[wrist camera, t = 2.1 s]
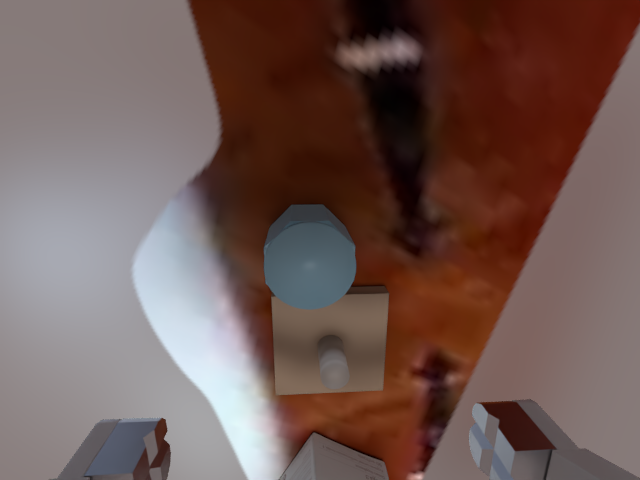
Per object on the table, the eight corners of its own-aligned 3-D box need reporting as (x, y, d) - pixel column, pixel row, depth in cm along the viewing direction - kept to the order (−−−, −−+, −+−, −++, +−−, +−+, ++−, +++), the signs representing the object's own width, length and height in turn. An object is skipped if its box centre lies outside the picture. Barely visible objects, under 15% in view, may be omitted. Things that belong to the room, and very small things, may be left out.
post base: (272, 289, 24) (267, 322, 20) (384, 285, 25) (403, 317, 21) (276, 383, 27) (272, 431, 23) (379, 379, 27) (394, 425, 23)
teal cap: (268, 204, 23) (261, 223, 18) (345, 203, 23) (357, 222, 18) (271, 276, 24) (265, 311, 19) (343, 274, 24) (355, 308, 20)
